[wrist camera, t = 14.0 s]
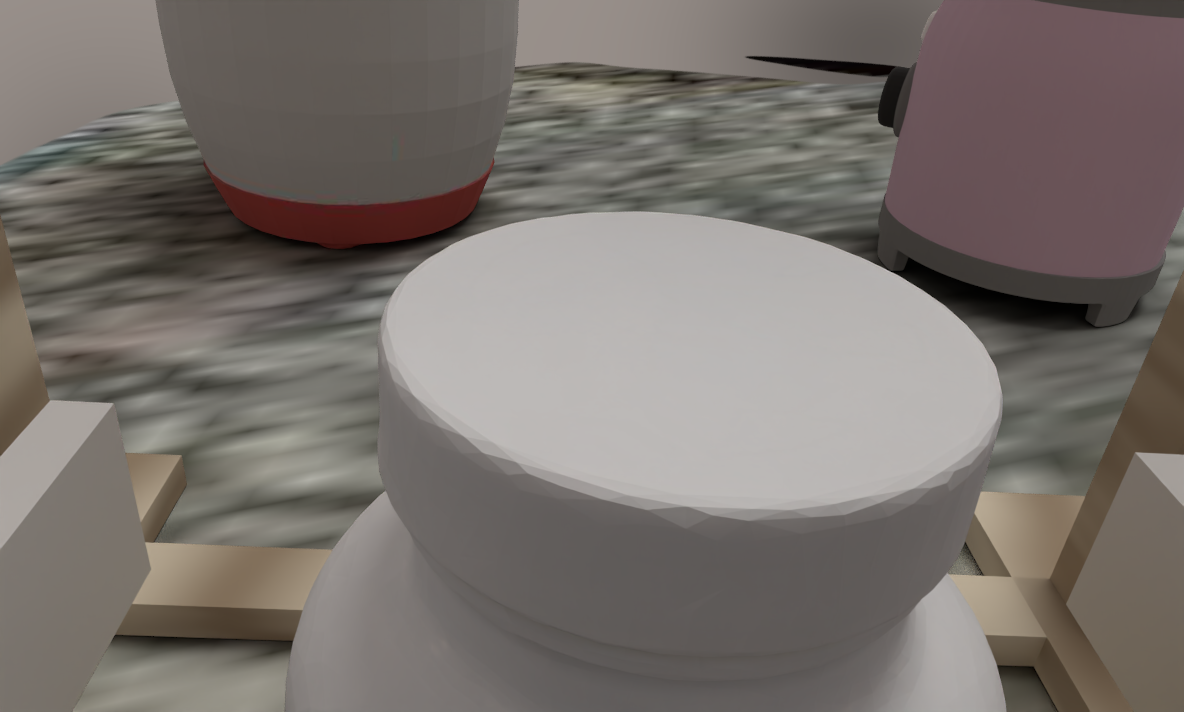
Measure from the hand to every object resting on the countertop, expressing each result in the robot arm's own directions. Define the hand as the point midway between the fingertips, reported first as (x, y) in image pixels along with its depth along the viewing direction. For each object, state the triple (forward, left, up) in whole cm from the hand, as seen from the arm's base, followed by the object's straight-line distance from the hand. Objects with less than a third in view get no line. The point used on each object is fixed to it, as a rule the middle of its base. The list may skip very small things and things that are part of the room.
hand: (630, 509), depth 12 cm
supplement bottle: (0, +3, -8) cm, 9 cm away
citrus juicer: (+10, -34, -9) cm, 36 cm away
